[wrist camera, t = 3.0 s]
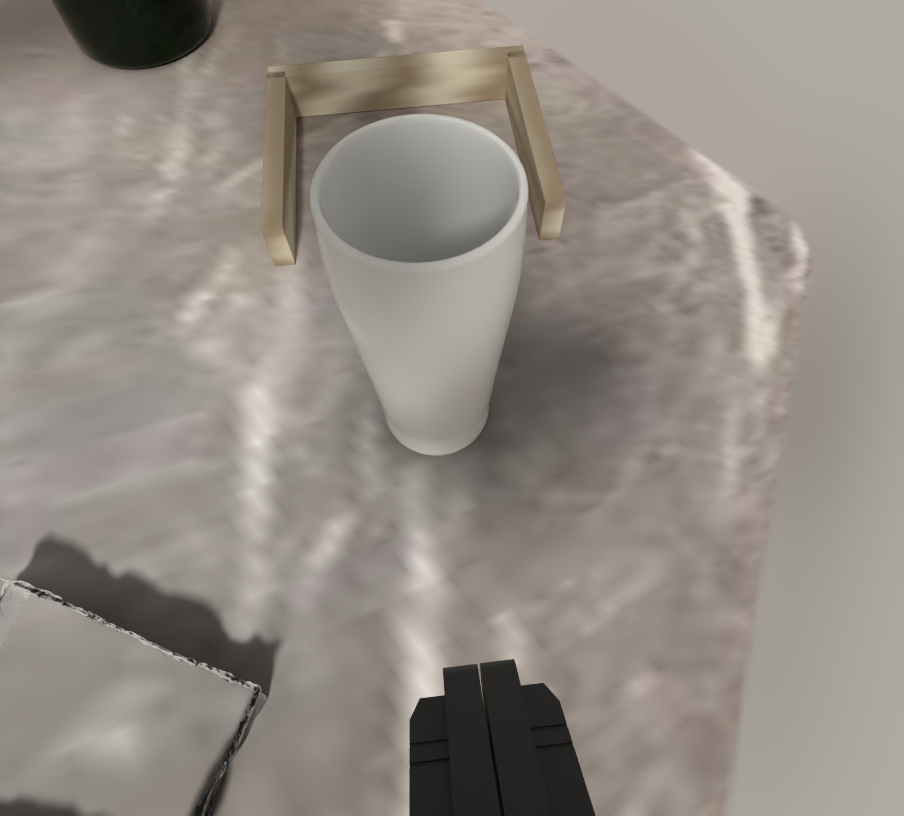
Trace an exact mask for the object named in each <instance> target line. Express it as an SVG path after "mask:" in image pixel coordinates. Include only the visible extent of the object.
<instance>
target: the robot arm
mask: <svg viewBox="0 0 904 816" xmlns="http://www.w3.org/2000/svg"><path fill="white" fill-rule="evenodd" d="M480 672H481V683H482V692H481V686H480V679H479V673H478V666H477V664H472V665H464V666H456V667H448V668H443V676H444V690H445V695H444V696H436V697H428V698H420V700H419V702H418V704H417V706H416V708H415V710H414V712H413V714H412V716H411V718H410V816H595V813H594V810H593V807H592V803H591V800H590V797H589V794H588V791H587V787H586V784H585V781H584V778H583V775H582V771H581V768H580V765H579V762H578V759H577V755H576V752H575V749H574V747H573V744H572V739H571V736H570V733H569V730H568V728H567V723H566V720H565V717H564V714H563V711H562V707H561V704H560V701H559V700H558V699H557V698H556V696H555V695H554V694H553V693H552V692H551V691H550V690H549V689H548V688H547V686H546V685H545V684H544V683H539V684H531V685H523V686H521V685H520V680H519V676H518V672H517V668H516V664H515V661H514V659H512V660H503V661H495V662H487V663H480ZM482 694H483V699H482ZM483 704H484V706H483Z"/></svg>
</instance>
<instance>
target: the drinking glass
mask: <svg viewBox="0 0 904 816" xmlns="http://www.w3.org/2000/svg"><path fill="white" fill-rule="evenodd" d="M528 193H529V190H528V181H527V176H526V173H525V170H524V167H523V165H522V163H521V161H520V159H519V158H518V156H517V155H516V153H515V152H514V151H513V150H512V149H511V147H510V146H509V145H508V144H507V143H506V142H504V141H503V140H502V139H501V138H500V137H498V136H497V135H496V134H494V133H492V132H491V131H489V130H487V129H486V128H484V127H482V126H480V125H477V124H475V123H472V122H470V121H467V120H464V119H460V118H456V117H451V116H446V115H438V114H409V115H401V116H395V117H390V118H386V119H382V120H379V121H376V122H373V123H370V124H368V125H366V126H363V127H361V128H359V129H357V130H355V131H354V132H352V133H350V134H349V135H347V136H346V137H344V138H343V139H342V140H340V141H339V142H338V143H337V144H336V145H334V146H333V147H332V148H331V149H330V150H329V151H328V153H327V154H326V155H325V156H324V158H323V159H322V160H321V162H320V163H319V165H318V167H317V169H316V171H315V173H314V176H313V179H312V182H311V187H310V208H311V213H312V216H313V221H314V225H315V230H316V234H317V239H318V243H319V247H320V251H321V255H322V259H323V263H324V266H325V270H326V273H327V277H328V280H329V283H330V286H331V289H332V292H333V295H334V298H335V300H336V303H337V305H338V308H339V310H340V313H341V315H342V318H343V320H344V322H345V325H346V327H347V329H348V332H349V334H350V336H351V338H352V340H353V343H354V345H355V347H356V349H357V351H358V354H359V356H360V358H361V360H362V362H363V365H364V367H365V369H366V371H367V374H368V376H369V378H370V380H371V383H372V385H373V387H374V389H375V392H376V394H377V396H378V399H379V401H380V403H381V406H382V408H383V412H384V416H385V420H386V423H387V425H388V427H389V429H390V431H391V433H392V434H393V435H394V437H395V438H396V439H397V440H398V441H399V442H400V443H401V444H403V445H404V446H405V447H407V448H409V449H410V450H412V451H415V452H417V453H421V454H425V455H433V456H439V455H447V454H451V453H454V452H457V451H459V450H461V449H463V448H465V447H467V446H468V445H469V444H471V443H472V442H473V441H474V440H475V439H476V438H477V437H478V436H479V434H480V433H481V432H482V430H483V428H484V426H485V424H486V421H487V418H488V413H489V404H490V397H491V393H492V389H493V385H494V381H495V377H496V373H497V369H498V365H499V362H500V358H501V354H502V350H503V347H504V343H505V339H506V336H507V332H508V328H509V325H510V321H511V317H512V313H513V309H514V305H515V301H516V297H517V292H518V287H519V282H520V276H521V271H522V264H523V257H524V248H525V237H526V223H527V204H528Z"/></svg>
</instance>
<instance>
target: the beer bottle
mask: <svg viewBox="0 0 904 816" xmlns="http://www.w3.org/2000/svg"><path fill="white" fill-rule="evenodd" d="M51 1H52V3H53V4H54V6H55V8H56V10H57V12H58V13H59V15H60V17H61V19H62V21H63V22H64V24H65V26H66V28H67V29H68V31H69V33H70V34H71V36H72V38H73V39H74V41H75V42H76V44H77V46H78V47H79V49H80V50H81V51H82V52H83V53H84V54H85V55H87V56H88V57H89V58H91V59H93V60H94V61H96V62H98V63H100V64H103V65H106V66H111V67H116V68H126V69H138V68H148V67H153V66H158V65H162V64H165V63H168V62H171V61H173V60H175V59H178V58H180V57H182V56H184V55H185V54H187V53H188V52H190V51H191V50H193V49H194V48H195V47H196V46H197V45H198V44H199V43H201V42H202V40H203V39H204V38H205V36H206V35H207V34H208V32H209V29H210V27H211V20H212V11H211V7H210V4H209V1H208V0H51Z"/></svg>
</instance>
